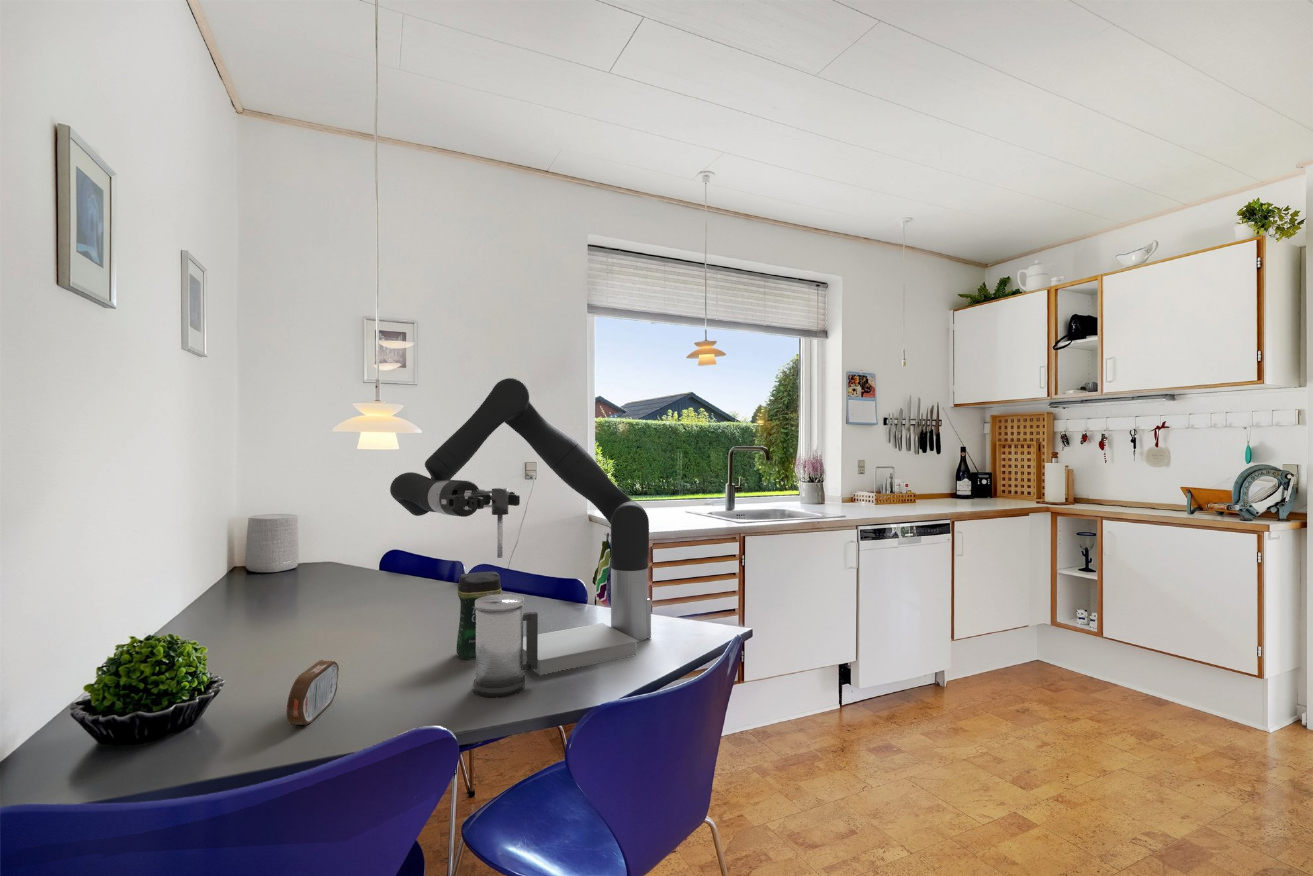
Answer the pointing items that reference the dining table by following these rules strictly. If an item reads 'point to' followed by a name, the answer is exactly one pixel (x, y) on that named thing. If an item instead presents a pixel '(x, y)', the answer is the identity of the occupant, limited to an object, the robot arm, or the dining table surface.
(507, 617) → the carafe
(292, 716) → the tin
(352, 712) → the dining table surface
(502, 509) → the plunger
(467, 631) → the coffee jar
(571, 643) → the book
